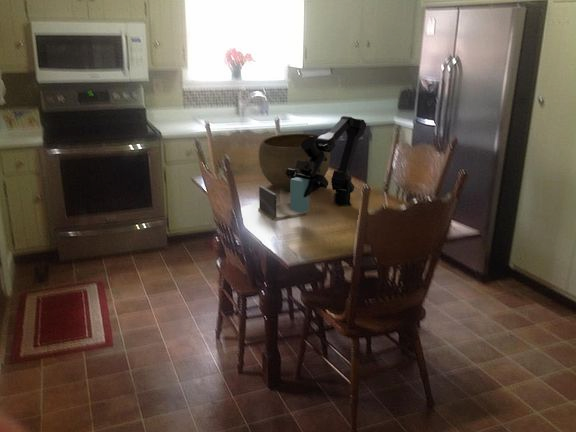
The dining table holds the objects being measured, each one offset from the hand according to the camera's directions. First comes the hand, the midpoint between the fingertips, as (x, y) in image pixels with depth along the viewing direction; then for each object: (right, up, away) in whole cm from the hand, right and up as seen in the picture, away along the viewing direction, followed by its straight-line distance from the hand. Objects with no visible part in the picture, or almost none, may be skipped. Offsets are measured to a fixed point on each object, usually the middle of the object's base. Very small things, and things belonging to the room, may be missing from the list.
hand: (297, 195), depth 223 cm
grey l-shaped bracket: (-7, -7, +16) cm, 19 cm away
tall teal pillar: (+1, -6, +3) cm, 7 cm away
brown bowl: (-1, +6, +54) cm, 55 cm away
